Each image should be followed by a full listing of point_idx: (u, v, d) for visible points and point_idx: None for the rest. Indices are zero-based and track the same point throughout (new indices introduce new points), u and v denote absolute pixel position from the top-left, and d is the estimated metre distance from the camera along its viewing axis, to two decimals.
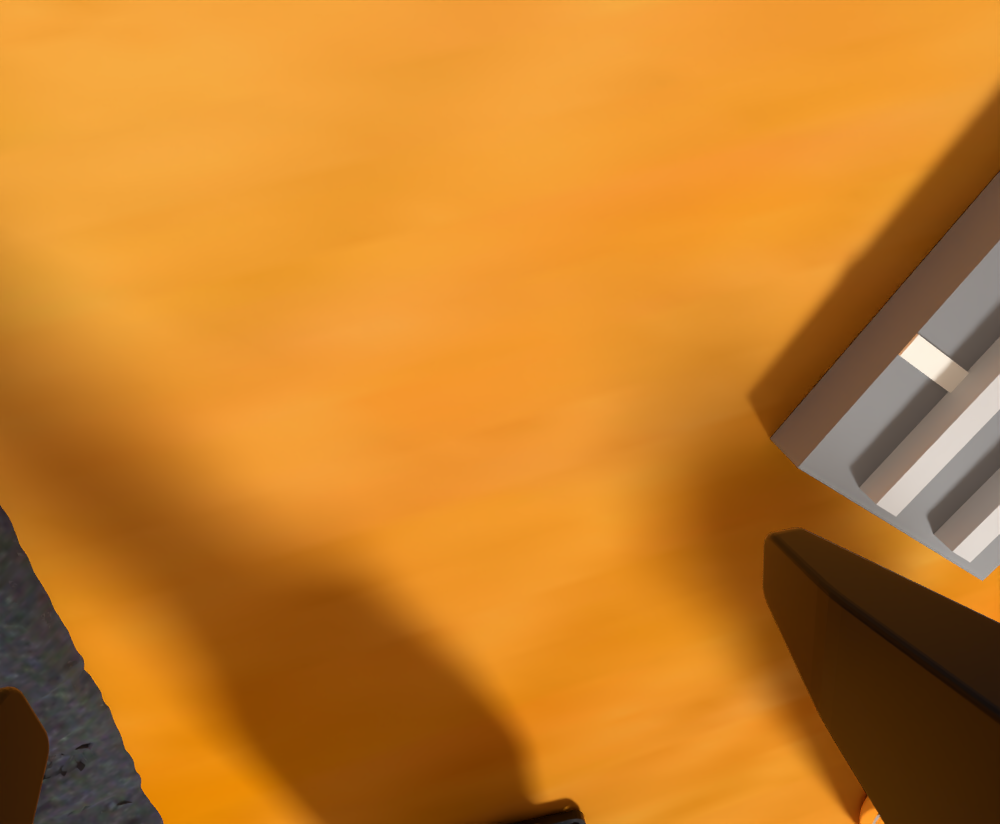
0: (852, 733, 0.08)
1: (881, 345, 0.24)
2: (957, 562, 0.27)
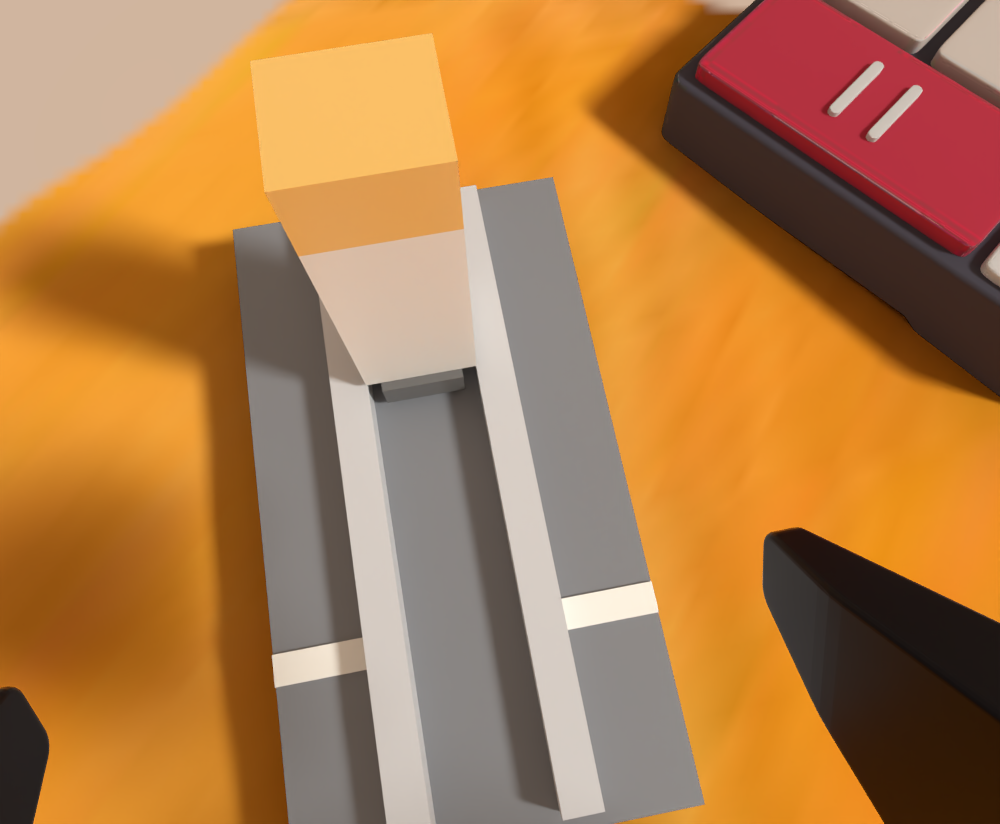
0: (852, 733, 0.08)
1: None
2: (638, 813, 0.18)
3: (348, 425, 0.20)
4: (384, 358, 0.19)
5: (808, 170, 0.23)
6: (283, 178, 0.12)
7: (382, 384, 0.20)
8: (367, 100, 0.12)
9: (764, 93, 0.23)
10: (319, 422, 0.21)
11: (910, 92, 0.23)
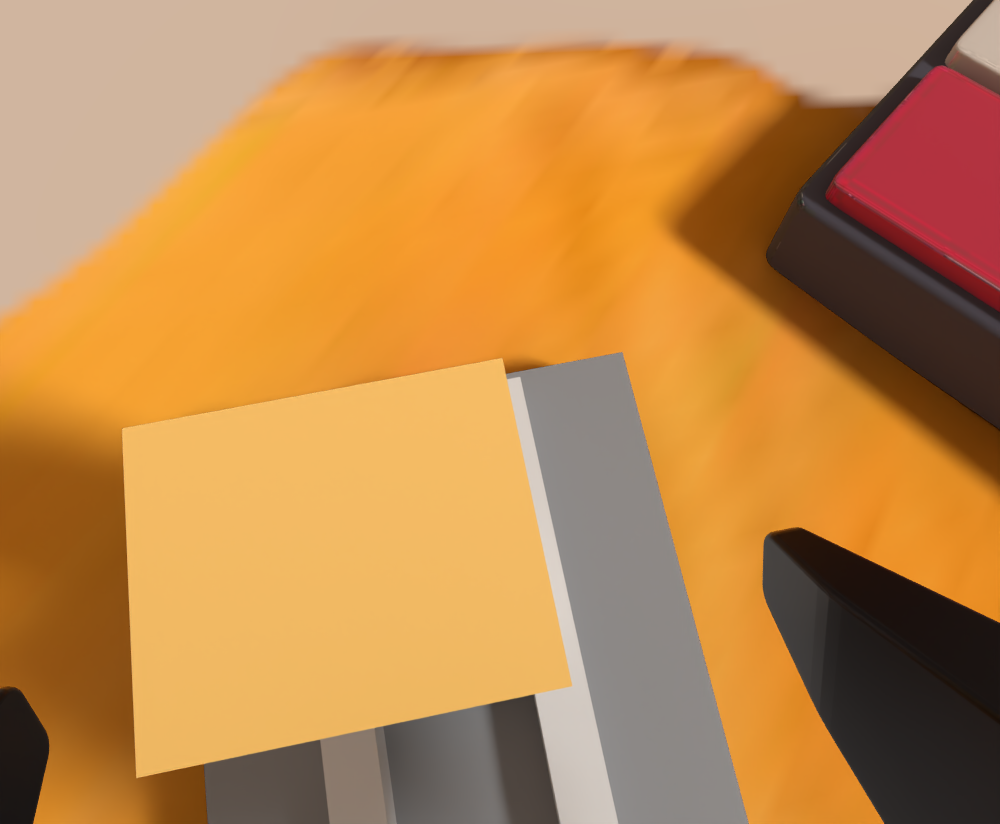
0: (852, 733, 0.08)
1: None
2: None
3: (342, 762, 0.14)
4: None
5: (997, 330, 0.16)
6: (180, 740, 0.05)
7: None
8: (369, 525, 0.06)
9: (930, 224, 0.17)
10: None
11: None
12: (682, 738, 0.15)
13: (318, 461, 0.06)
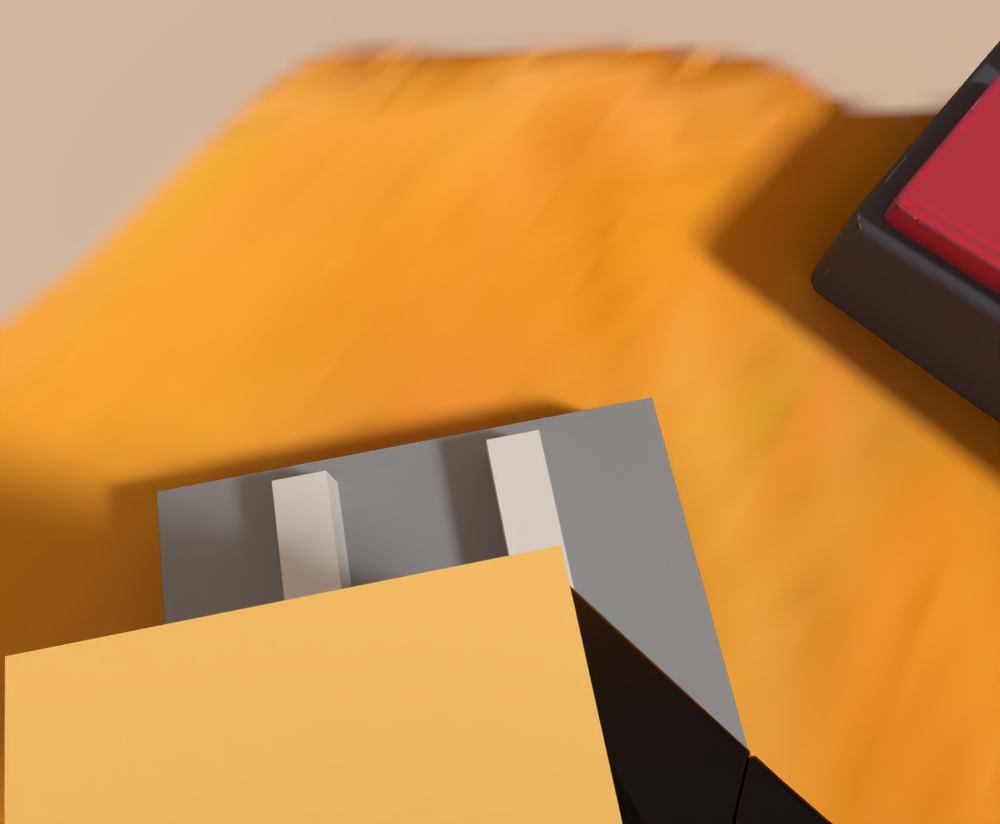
0: None
1: None
2: None
3: None
4: None
5: None
6: None
7: None
8: (368, 815, 0.04)
9: None
10: None
11: None
12: None
13: (293, 711, 0.04)
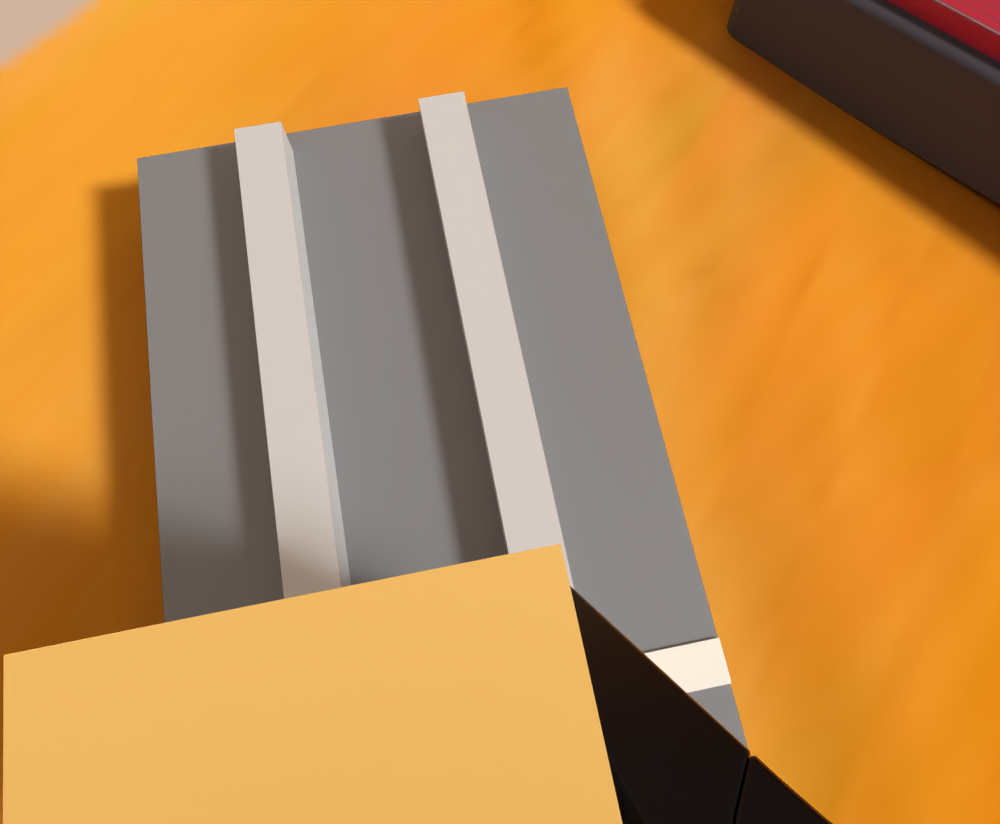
0: None
1: None
2: None
3: (283, 418, 0.14)
4: None
5: (944, 49, 0.17)
6: None
7: None
8: (368, 813, 0.04)
9: None
10: (247, 415, 0.15)
11: None
12: (615, 417, 0.15)
13: (292, 709, 0.04)
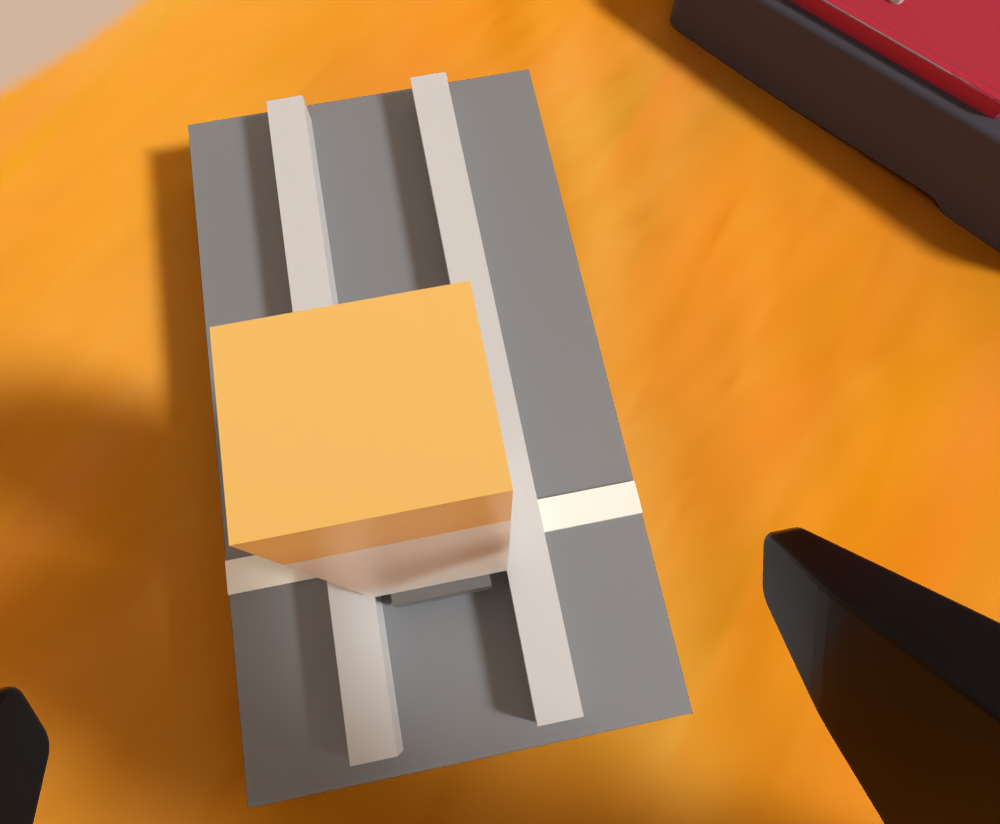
0: (852, 733, 0.08)
1: None
2: (621, 723, 0.17)
3: None
4: (395, 585, 0.15)
5: (829, 39, 0.21)
6: (257, 522, 0.08)
7: (392, 596, 0.16)
8: (379, 390, 0.08)
9: None
10: None
11: None
12: (561, 322, 0.20)
13: (344, 348, 0.08)
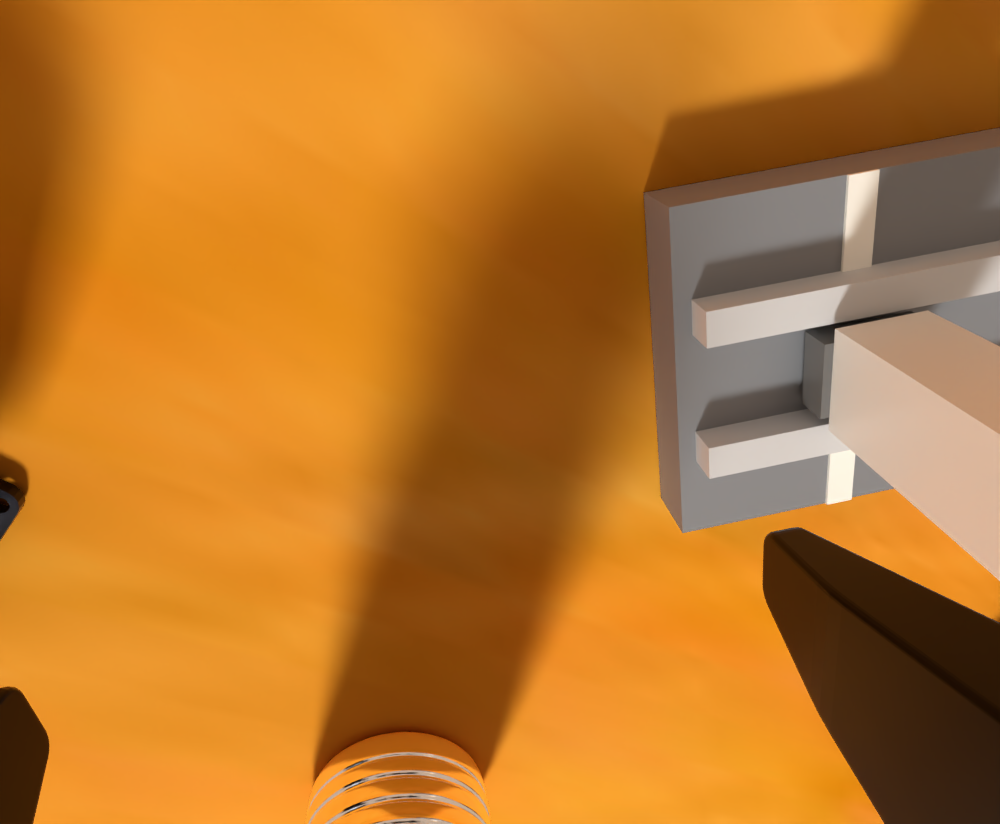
0: (852, 733, 0.08)
1: (828, 169, 0.19)
2: (683, 488, 0.22)
3: None
4: (869, 381, 0.18)
5: None
6: None
7: (831, 344, 0.19)
8: None
9: None
10: None
11: None
12: None
13: None
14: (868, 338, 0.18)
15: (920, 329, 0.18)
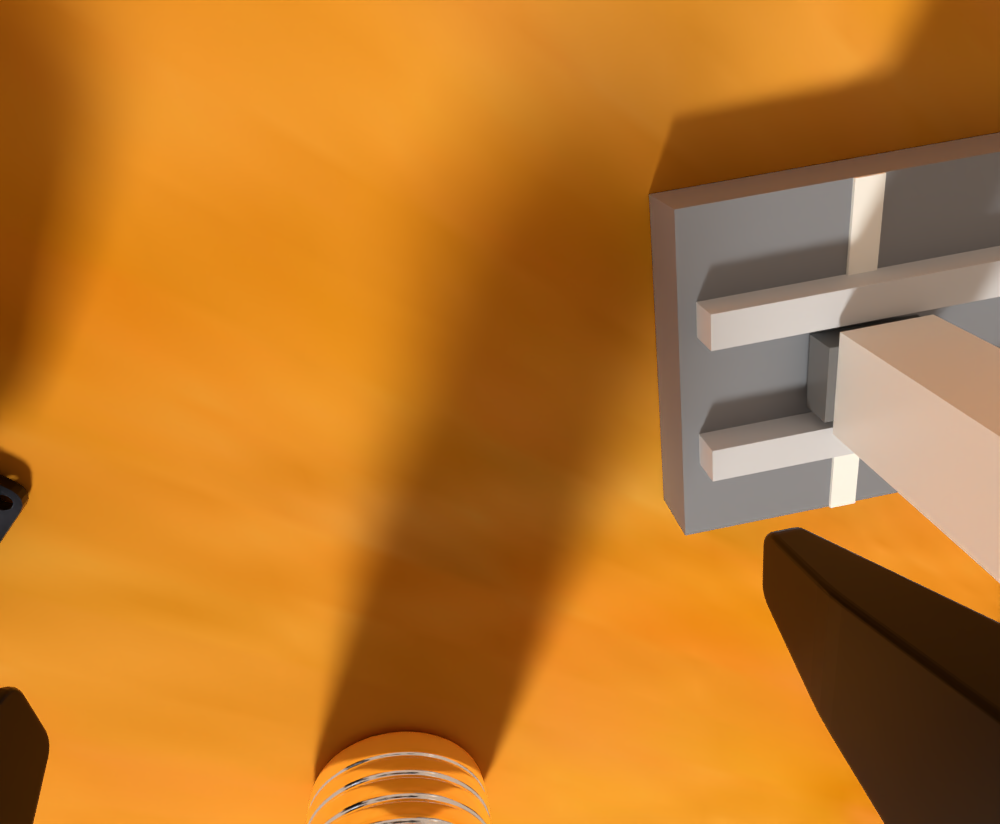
0: (852, 733, 0.08)
1: (834, 172, 0.19)
2: (686, 490, 0.22)
3: None
4: (874, 384, 0.18)
5: None
6: None
7: (836, 347, 0.19)
8: None
9: None
10: None
11: None
12: None
13: None
14: (873, 342, 0.18)
15: (926, 333, 0.18)
